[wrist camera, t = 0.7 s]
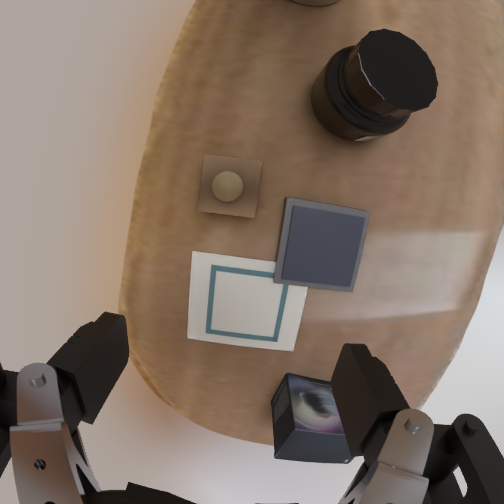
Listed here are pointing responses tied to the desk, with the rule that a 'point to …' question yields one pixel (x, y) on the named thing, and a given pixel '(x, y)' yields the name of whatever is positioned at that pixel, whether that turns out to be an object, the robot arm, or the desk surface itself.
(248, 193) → the stamp
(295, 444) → the small box
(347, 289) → the ink pad
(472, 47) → the desk surface
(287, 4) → the desk surface
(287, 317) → the sheet
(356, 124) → the ink bottle
